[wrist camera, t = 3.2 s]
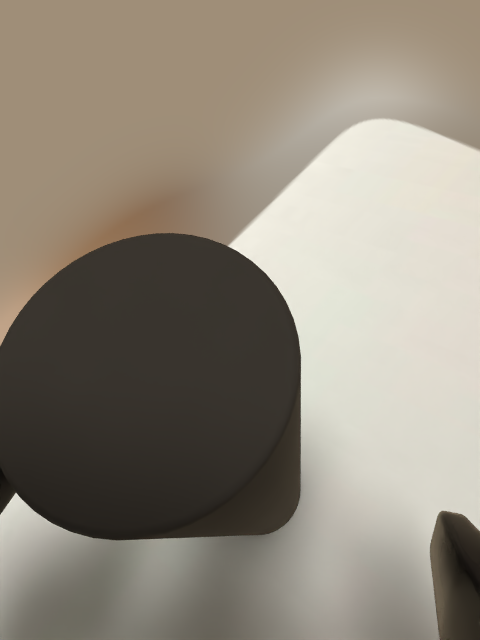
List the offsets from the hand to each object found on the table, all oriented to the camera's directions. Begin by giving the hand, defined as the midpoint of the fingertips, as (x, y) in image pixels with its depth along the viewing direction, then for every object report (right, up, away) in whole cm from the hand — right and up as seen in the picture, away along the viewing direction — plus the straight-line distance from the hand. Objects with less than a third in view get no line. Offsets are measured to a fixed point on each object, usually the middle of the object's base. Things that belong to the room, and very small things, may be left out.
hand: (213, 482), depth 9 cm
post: (+1, -3, +8) cm, 9 cm away
